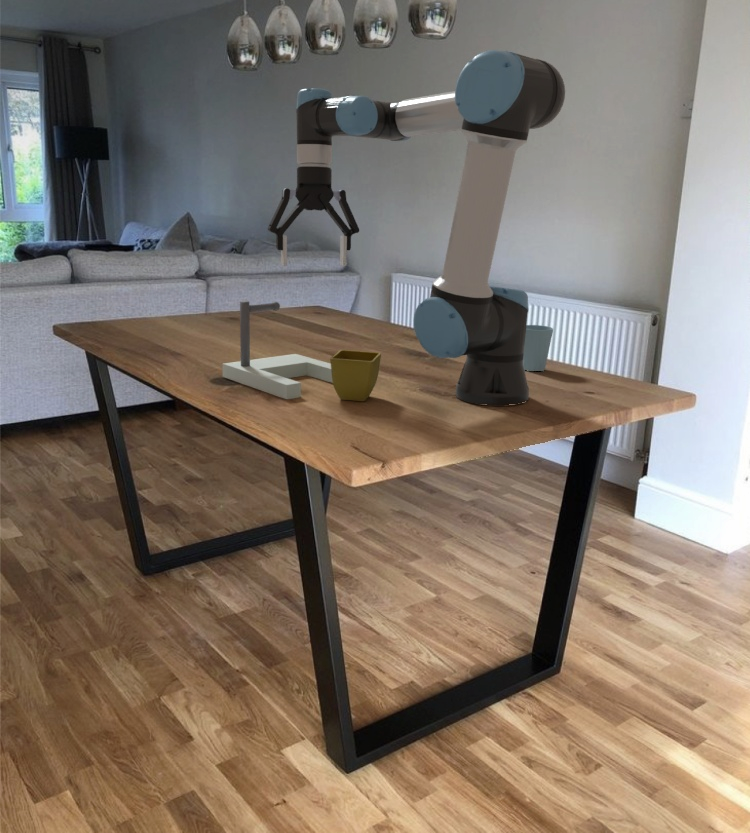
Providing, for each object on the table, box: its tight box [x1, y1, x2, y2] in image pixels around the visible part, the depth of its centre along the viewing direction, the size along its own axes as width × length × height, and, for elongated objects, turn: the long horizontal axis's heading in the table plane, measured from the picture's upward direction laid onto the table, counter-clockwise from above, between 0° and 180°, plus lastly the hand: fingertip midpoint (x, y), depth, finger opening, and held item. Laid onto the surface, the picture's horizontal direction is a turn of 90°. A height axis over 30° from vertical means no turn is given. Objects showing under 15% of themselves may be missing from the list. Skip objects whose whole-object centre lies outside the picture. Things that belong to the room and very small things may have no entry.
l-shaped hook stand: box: [222, 300, 333, 400], centre depth 173 cm, size 24×20×17 cm
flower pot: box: [329, 349, 382, 402], centre depth 162 cm, size 9×9×9 cm
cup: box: [523, 324, 554, 372], centre depth 194 cm, size 8×8×10 cm
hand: (314, 265), depth 180 cm, fingers open, 13 cm apart
